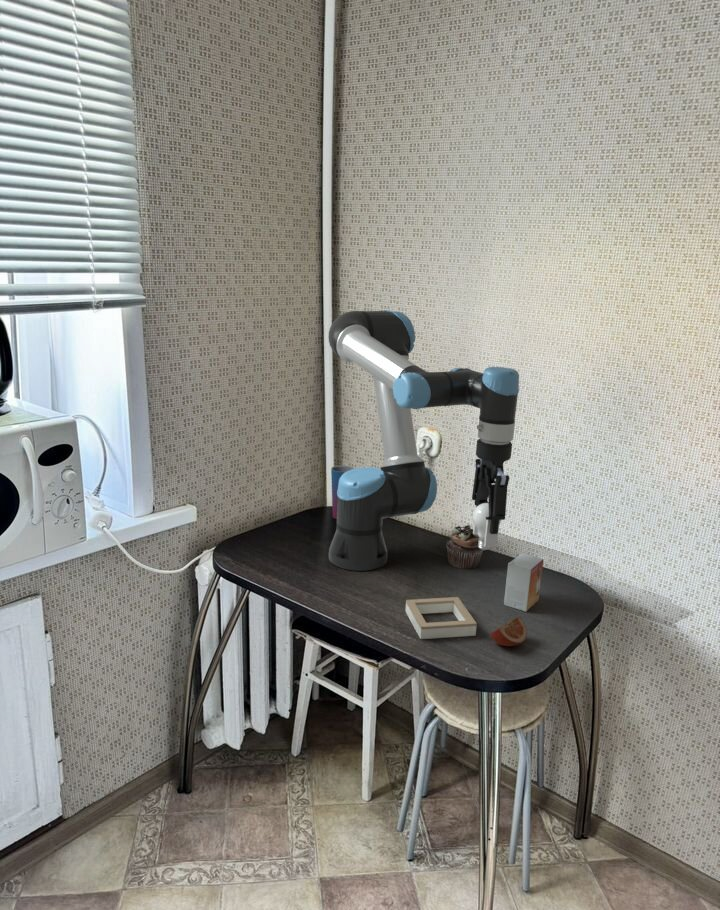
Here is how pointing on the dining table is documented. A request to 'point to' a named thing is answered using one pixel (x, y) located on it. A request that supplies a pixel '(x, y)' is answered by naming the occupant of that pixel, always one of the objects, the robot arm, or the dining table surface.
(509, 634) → the fruit slice
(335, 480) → the cup
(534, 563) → the small box
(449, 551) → the cupcake
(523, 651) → the dining table surface
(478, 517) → the lightbulb
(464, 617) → the square frame
